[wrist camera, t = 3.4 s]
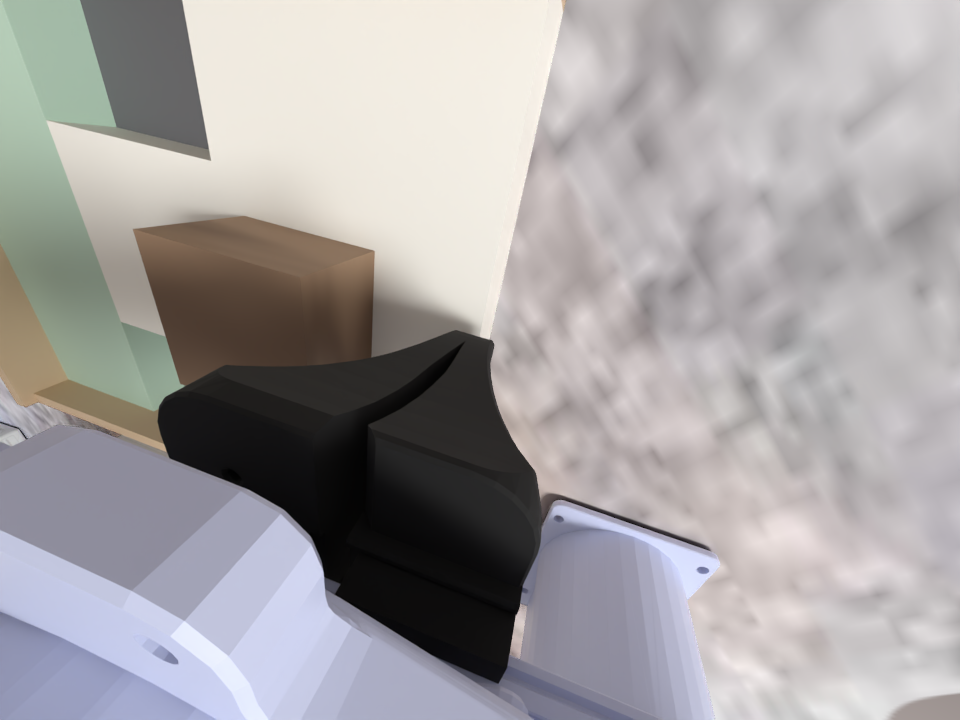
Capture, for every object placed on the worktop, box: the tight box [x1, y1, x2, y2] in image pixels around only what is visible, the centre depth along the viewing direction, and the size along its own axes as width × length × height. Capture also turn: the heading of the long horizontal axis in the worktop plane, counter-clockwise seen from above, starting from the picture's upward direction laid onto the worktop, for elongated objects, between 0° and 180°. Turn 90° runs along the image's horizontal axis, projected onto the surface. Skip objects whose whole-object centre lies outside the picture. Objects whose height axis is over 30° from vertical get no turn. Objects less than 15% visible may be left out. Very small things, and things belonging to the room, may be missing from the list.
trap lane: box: [0, 0, 566, 452], centre depth 14 cm, size 20×24×4 cm
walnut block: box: [133, 216, 375, 386], centre depth 12 cm, size 5×5×4 cm
